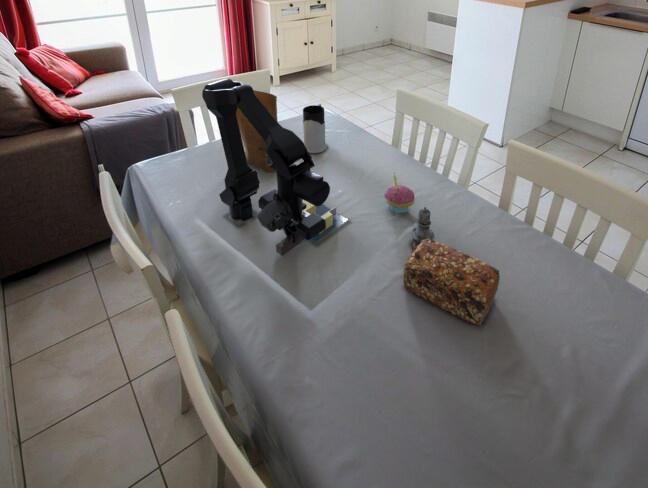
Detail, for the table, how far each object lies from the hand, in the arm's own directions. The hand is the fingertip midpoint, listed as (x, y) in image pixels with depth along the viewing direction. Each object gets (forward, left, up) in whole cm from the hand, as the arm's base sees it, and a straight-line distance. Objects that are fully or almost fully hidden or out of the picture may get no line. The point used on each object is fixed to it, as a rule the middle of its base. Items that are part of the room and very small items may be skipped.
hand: (292, 240), depth 107 cm
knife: (0, +6, -1) cm, 6 cm away
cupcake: (+10, +31, -3) cm, 33 cm away
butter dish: (-6, +11, -3) cm, 13 cm away
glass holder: (-35, +42, +5) cm, 55 cm away
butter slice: (+1, +10, -2) cm, 10 cm away
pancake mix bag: (-39, +19, -3) cm, 43 cm away
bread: (+36, +14, -3) cm, 39 cm away
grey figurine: (+23, +23, -3) cm, 33 cm away
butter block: (-9, +10, -2) cm, 13 cm away
